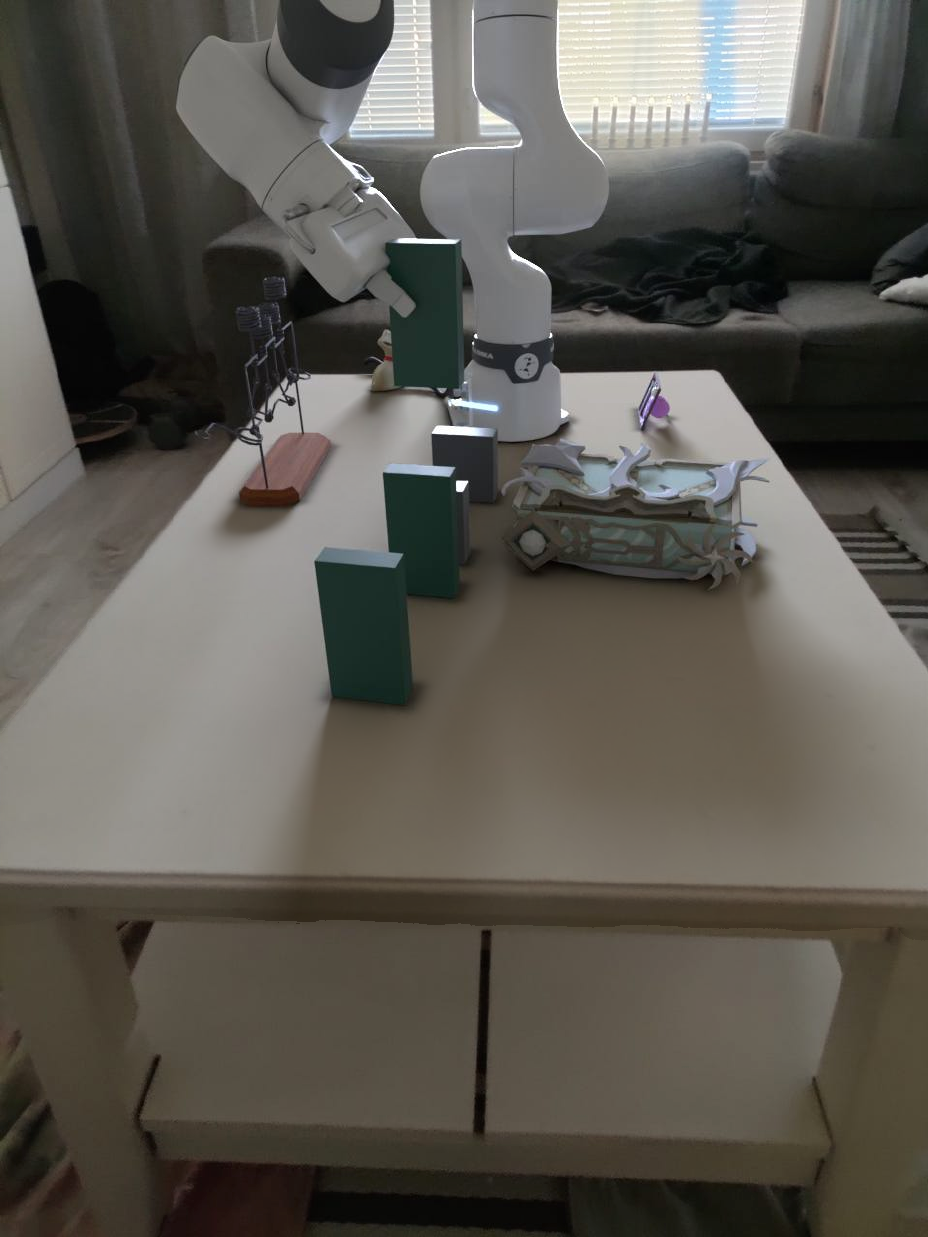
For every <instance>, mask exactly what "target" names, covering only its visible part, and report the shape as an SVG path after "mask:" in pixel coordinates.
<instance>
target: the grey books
mask: <svg viewBox="0 0 928 1237" xmlns="http://www.w3.org/2000/svg"><path fill="white" fill-rule="evenodd" d="M430 435H431V436H430V437H431V438H430V439H431V456H432V458H431V459H432V460H431V461H432V466H443V467H456V483H457V516H458V548H459V565H465V564H466V562H467V560H468V559H469V556H470V554H471V520H470V519H471V518H470V502H474V503H475V502H476V503H491V504H494V502H495V501H496V498H497V496H498V494H499V443H498V442H499V441H498V429H491V428H473V427H455V426H453V425H451V426H450V425H436V426H435V428H434V429H433V431H432V432H431V434H430Z"/></svg>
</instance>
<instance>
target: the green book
mask: <svg viewBox="0 0 928 1237" xmlns="http://www.w3.org/2000/svg"><path fill="white" fill-rule="evenodd" d="M385 248H386V255H387V256H388V258H389V259H390V264H389V265H388V266H387V273H388V274H389V275H390V276H391V277H392V279H391V280H392V281H393V282H394V283H396V284H397V285H398V286H399V287H400V288H402V289H403V290H404V291H407V290H408V292H409V293H410V294H411V295H412V296H413V297H414V298H415V299H416V300H417V301H418V306H417V307H416V309H415V310H414V311H413V312H412V313H411V314H410V315H409V316H408V317H405V318H404V317H402V316H401V315H400V314H399V313H398V312H397V311H396V310H395V309H394V308H393V307H392V306H390V305H388V308H389V309H388V311H389V327H390V332H391V344H392V360H393V375H394V386H403V387H407V388H426V389H427V388H428V389H430V388H439V389H447V388H448V389H459V388H460V387H461V385H462V384H463V383H464V370H465V347H464V346H465V345H464V344H465V342H464V340H465V339H464V301H463V300H464V298H463V297H464V296H463V258H462V244H461V240H460V239H447V238H416V239H392V240H390V241H388V242H386V243H385Z"/></svg>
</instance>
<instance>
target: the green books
mask: <svg viewBox="0 0 928 1237" xmlns="http://www.w3.org/2000/svg"><path fill="white" fill-rule="evenodd" d="M382 481H383V482H382V483H383V493H384V507H385V508H384V509H385V520H386V534H387V545H388V552H387V551H375V550H365V549H364V550H363V549H355V548H354V549H353V548H343V547H342V548H341V547H330V546H325V547H324V548H323V549H322V551H321V552H320V553H319V554H318V555H317V557H316V558H315V559H314V562H313V563H314V570H315V578H316V586H317V593H318V601H319V609H320V610H319V611H320V615H321V624H322V632H323V640H324V647H325V657H326V663H327V669H328V671H327V672H328V678H329V686H330V695H331V697H333V698H339V699H349V700H355V701H365V702H373V703H381V704H390V705H398V706H406V705H407V703H408V701H409V698H410V697H411V694H412V692H413V689H414V682H413V667H412V654H411V652H412V651H411V638H410V637H411V636H410V625H409V624H410V622H409V608H408V595H411V596H423V597H433V598H443V599H444V598H445V599H453V600H454V599H455V598H456V596H457V593H458V592H459V590H460V587H461V586H460V585H461V584H460V580H461V579H460V564H459V548H458V516H457V483H456V467H443V466H433V465H426V464H411V463H398V462H397V463H395V462H389V464H388V465H387V466H386V468H385V469H384V470H383V472H382Z"/></svg>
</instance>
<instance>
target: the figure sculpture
mask: <svg viewBox="0 0 928 1237" xmlns="http://www.w3.org/2000/svg"><path fill="white" fill-rule="evenodd" d="M285 283H286V281H285V278H284V277H281V276H269V277H265V278H264V279H263V281H262V286H263V292H264V293H263V294H264V299H265V300H267V301H270V302H261V303H259V304H258V305H257V306H256V305H249V306H246V305H245V306H239V307H237V308H236V309H235V310H236V311H234V313H235V319H236V326H237V327H238V328H237V330H238V331H240V332H248V333H249V340H250V347H251V353H252V354H251V355H249V358H250V359H249V360H248V361H247V362H246V363H245V364H244V369H243V370H244V377H245V384H246V390H247V396H248V397H247V398H248V403H249V404H248V408H247V412H246V416H247V417H248V418H249V419H251V422H252V423H251V424H252V425H251V426H250V428H248V427H237V428H235V429H234V430H233V429H231V428H228V427H226V426H224V425H222V424H220V423H217V422H211V424H209V426H208V427H207V428H206V429H205V430H197V429H196V430H194V436H195V438H197V439H200V440H204V441H208V442H209V441H210V440H211V435H210V434H209V433H208V432H209V431H210V430H211V429H212V428H213V427H217V428H219V429H221V430H224V431H226V432H228V433H230V434H232V435H234V437H235V438H237V440H239V441H240V442H241V443H243V444H246V445H249V446H258V448H259V453H260V459H261V461H260V462H259V463H258V465H257V467H256V468H255V469H254V471H253V472H252V473H251V475H250V476H249V478H248V479H247V480H246V482H245V483H244V484H243V486H242V487H241V489H240V490H239V491H238V495H239V496H238V497H239V501H240V502H241V503H243V504H245V505H246V506H248V507H287V506H290V505H293V504H296V503H299V502H301V500H302V498H303V496H304V495H305V493H306V492H307V489H308V488H309V486H310V484H311V482H312V481H313V479H314V477H315V476H316V474H317V472H318V471H319V468H320V467H321V465H322V463H323V462H324V460H325V458H326V456H327V455H328V453H329V451H330V449H331V440H330V438H328V437H326V436H325V435H324V434H321V433H319V432H305V430H304V423H303V414H302V407H301V400H300V392H299V385H298V382H299V381H300V380H301V381H308V380H311V379H312V376H311V373H309V372H307V370H305V369H302V368H301V367H299V363H298V355H297V348H296V339H295V331H294V325H293V323H294V322H293V321H292V320H290V321H289V322H288V323H287V324H286V325H284V326H283V327H282V320H281V316H280V306H279V301H278V300H281V299H286V298H287V290H286V289H287V288H286V284H285ZM273 301H275V302H273ZM275 325H278V328H277V329H276V332H277V334H276V335H277V336H274V331H273V326H275ZM288 327H290V333H291V342H292V351H293V360H294V366H295V367H294V366H291V367H289V368H288V367H287V364H286V359H285V356H284V355H285V354H286V353H285V350H286V347H285V345H284V340H285V335H284V334H285V332H284V331H285V330H286V328H288ZM265 338H267V339H268V341H267V342H266V343H265ZM254 339H258V340H259V339H260V340H261V345H260V346H259V347H258V349H260V350H259V352H260V357H261V359H260V360H259V357H258V356H259V354H258V353H256V348H255V342H254ZM277 340H279V341H277ZM276 341H277V343H276ZM268 347H269V349H271V350H272V355H273V362H274V369H273V370H272V374H271V375H272V377H273V378H274V379H275V381H276V382H277V384H278V387H279V389H280V391H281V396H283V397H284V399H282V398H277V399H276V400H275V401H274V402H273V405H272V409H271V408H269V395H270V392H271V391H272V385H271V382H270V375H269V368H268V367H269V366H268V357H269V355H268V351H267V350H268ZM276 349H277V350H278V352H280V356H281V360H282V364H283V368H284V369H283V370H284V372H285V377H286V380H287V383H286V387H285V389H284V388H283V386H282V384H281V382H280V380H281V378H280V373H279V372H278V365H277V357H276ZM258 360H259V361H258ZM262 363H264V368H265V374H266V381H267V383H265V384H264V386H263V389H264V390H265V399H264V400H265V401H264V411H261V410H258V409H256V408H255V407H253V403H254V399H255V397H256V396H255V395H256V392H257V390H258V387H259V386H261V385H262V384H261V380H260V374H259V368H258V367H259V366H260V365H261V364H262ZM249 365H251V367H253V368H254V375H255V377H253V381H252V385H253V388H252V392H251V389H250V383H249V376H248V367H249ZM292 370H294V371H295V373H294V372H292ZM300 372H302V373H304V374H305V375H306V376H307V377H304V376H300ZM292 385H295V392H296V398H297V400H296V398H295V397H293V396H290V395H288V394H286V393H287V392H288V390H289V387H291V386H292ZM279 402H282V403H284V404H287V406H288V407H294V405H296V403H297V407H298V414H299V421H300V430H301V432H288V433H284V434H281V435H280V436H279V437H278V438H277V439H276V440H275V442H274V443H273V444H272V446H271V448H270V449H269V450H268V451H267V452H266V454H265V456H264V449H263V444H262V443H263V440H264V435H262V433H261V431H260V430H261V429H260V425H261V424H262V423H263V420H264V422H265V423H269V424H270V423H272V422H273V420H274V418H275V417H274V413H275V409H276V407H277V405H278V403H279ZM268 408H269V409H268ZM257 414H261V415H263V416H264V419H262V418H260V417H258V416H256V415H257ZM256 421H258V422H257V424H256ZM239 431H244V432H245V431H248V432H249V434H250V435H251V436H254V437H256V438H257V439H255V438H252V437H248V436H246V435H244V434H241V433H239ZM199 434H204V435H205V436H207V437H203V436H201V435H199Z"/></svg>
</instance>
